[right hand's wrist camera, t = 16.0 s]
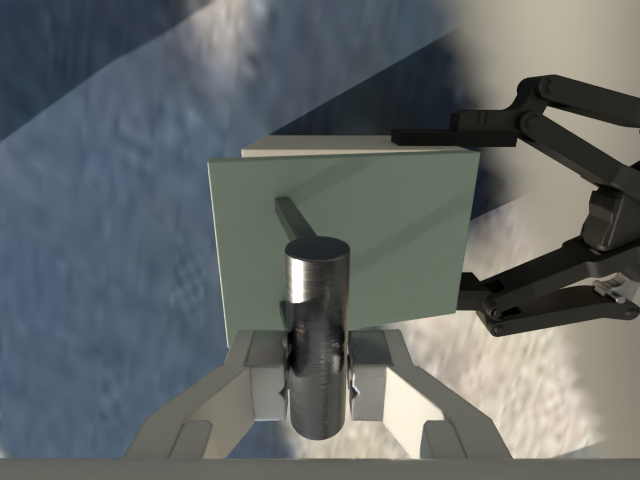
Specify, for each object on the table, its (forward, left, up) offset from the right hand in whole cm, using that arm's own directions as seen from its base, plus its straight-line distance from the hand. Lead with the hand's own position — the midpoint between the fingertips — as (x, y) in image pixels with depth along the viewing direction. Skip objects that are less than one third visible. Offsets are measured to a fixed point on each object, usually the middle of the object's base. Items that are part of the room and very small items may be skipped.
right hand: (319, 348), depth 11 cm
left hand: (+2, +4, -13) cm, 14 cm away
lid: (+1, +1, -9) cm, 9 cm away
